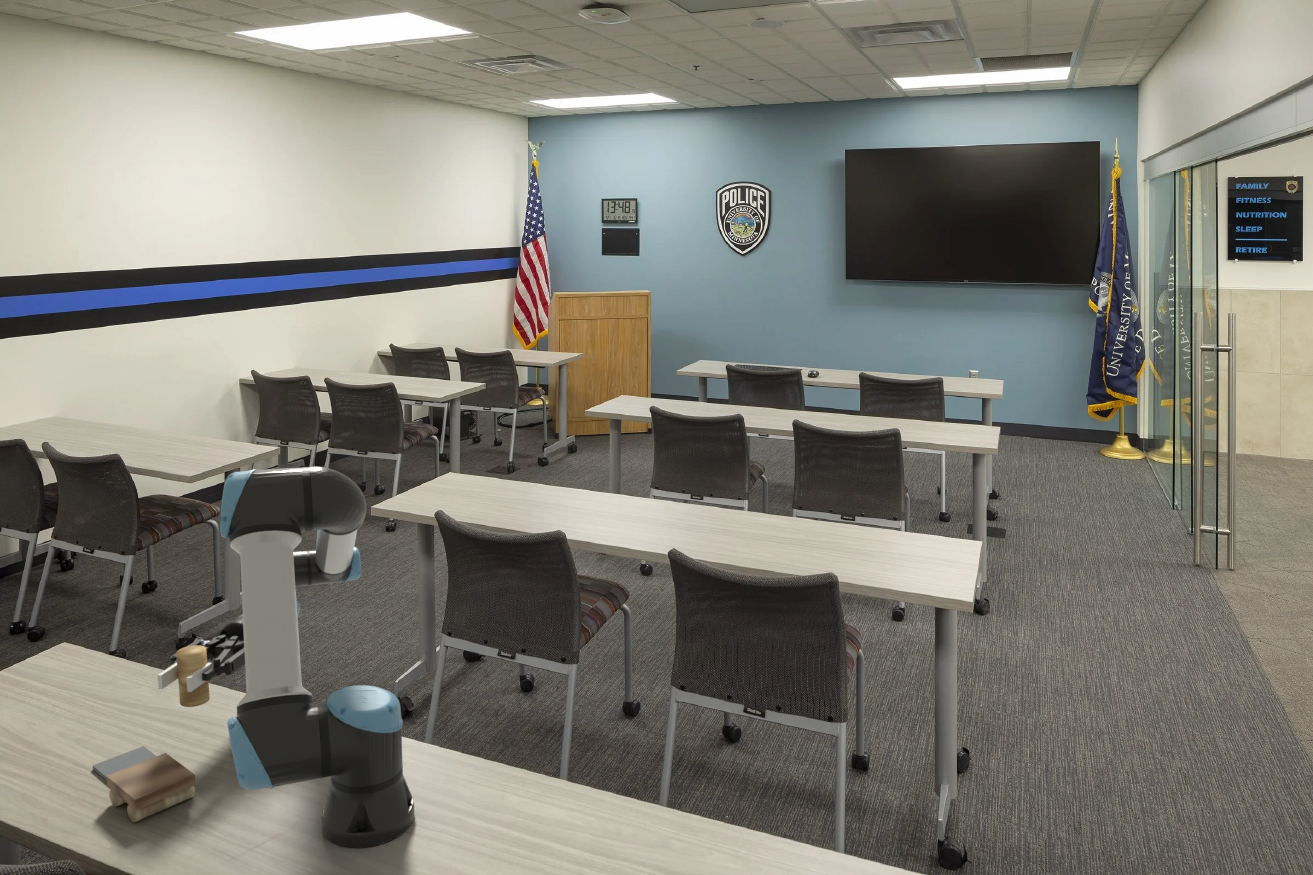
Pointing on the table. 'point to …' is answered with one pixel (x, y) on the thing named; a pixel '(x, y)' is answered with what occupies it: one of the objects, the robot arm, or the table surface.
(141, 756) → the pad
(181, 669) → the roller
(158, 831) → the table surface
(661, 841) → the table surface
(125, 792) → the slab
